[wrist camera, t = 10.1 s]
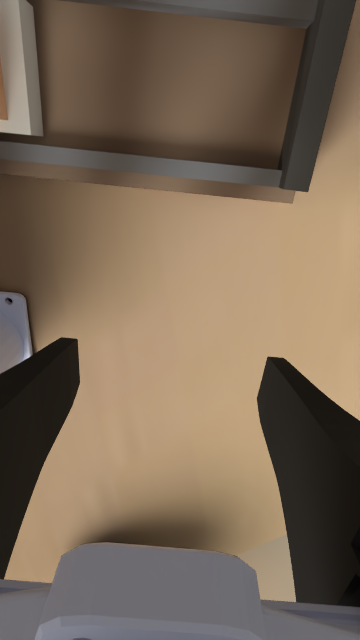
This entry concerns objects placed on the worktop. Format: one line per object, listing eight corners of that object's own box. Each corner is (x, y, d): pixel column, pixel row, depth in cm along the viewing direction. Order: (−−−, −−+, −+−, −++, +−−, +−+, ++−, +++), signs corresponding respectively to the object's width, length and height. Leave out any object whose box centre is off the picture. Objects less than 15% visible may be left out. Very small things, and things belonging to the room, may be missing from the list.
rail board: (-59, 165, 19) (-106, 167, 16) (-104, -53, 15) (-179, -106, 12) (285, 199, 20) (303, 209, 17) (330, -2, 16) (365, -40, 13)
